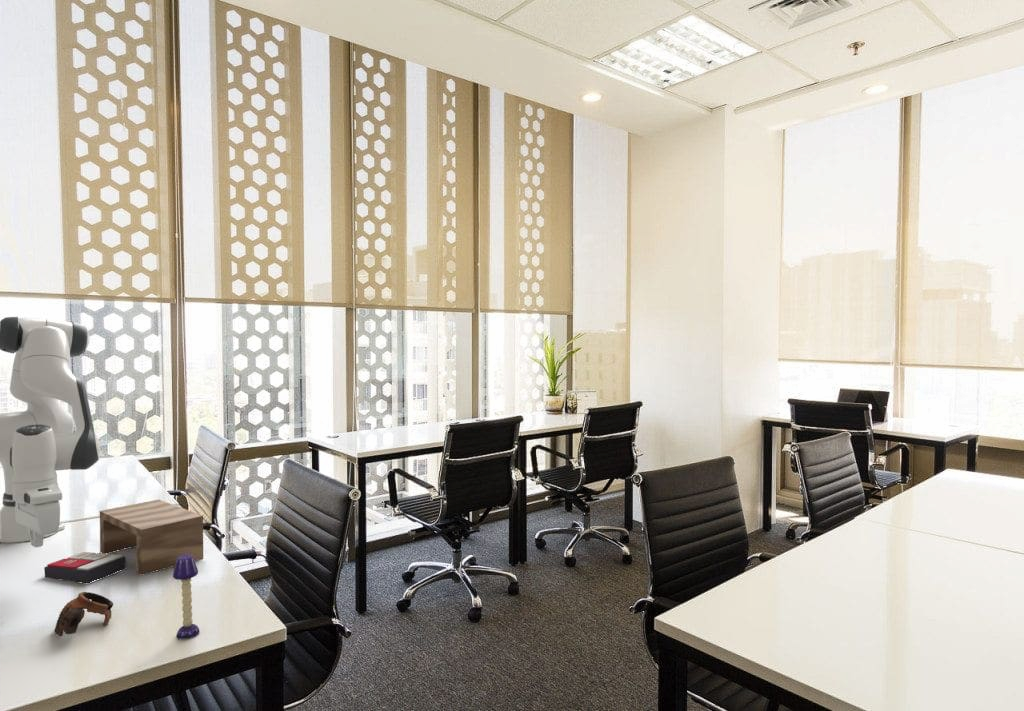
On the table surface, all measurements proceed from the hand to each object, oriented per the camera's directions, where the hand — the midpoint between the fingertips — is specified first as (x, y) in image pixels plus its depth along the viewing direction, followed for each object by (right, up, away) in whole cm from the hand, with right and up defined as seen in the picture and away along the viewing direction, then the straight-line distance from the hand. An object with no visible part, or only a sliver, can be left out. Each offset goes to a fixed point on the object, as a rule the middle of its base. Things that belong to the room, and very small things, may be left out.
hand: (36, 545), depth 153 cm
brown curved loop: (+27, -11, -23) cm, 37 cm away
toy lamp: (+51, -11, -25) cm, 57 cm away
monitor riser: (+16, -9, +22) cm, 29 cm away
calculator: (+6, -10, +9) cm, 15 cm away
